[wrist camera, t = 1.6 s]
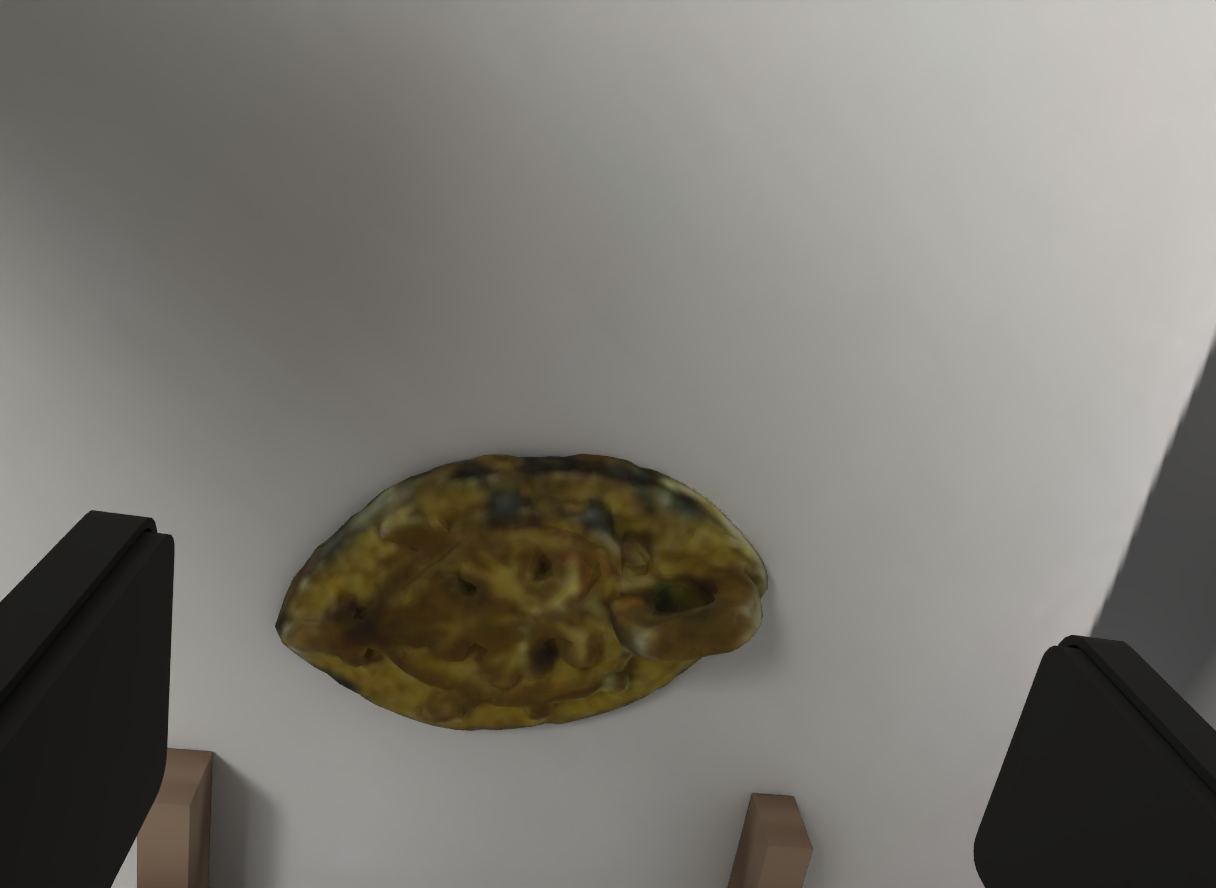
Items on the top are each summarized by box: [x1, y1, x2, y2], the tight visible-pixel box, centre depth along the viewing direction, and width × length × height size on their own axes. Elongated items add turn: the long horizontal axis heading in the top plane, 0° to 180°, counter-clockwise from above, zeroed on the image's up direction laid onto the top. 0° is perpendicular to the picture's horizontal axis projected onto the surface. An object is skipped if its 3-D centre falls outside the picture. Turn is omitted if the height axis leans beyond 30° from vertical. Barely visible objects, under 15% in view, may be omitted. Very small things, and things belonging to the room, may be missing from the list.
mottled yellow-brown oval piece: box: [275, 454, 768, 731], centre depth 31 cm, size 9×5×15 cm
